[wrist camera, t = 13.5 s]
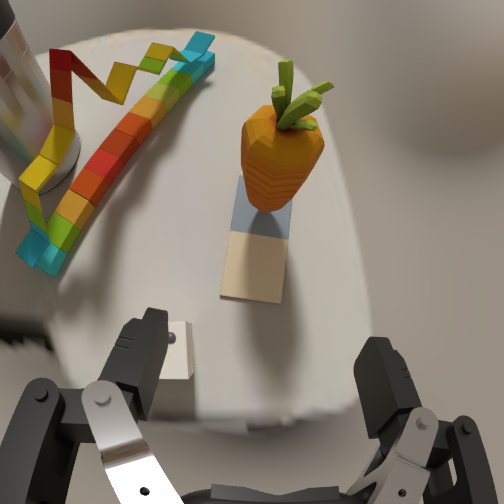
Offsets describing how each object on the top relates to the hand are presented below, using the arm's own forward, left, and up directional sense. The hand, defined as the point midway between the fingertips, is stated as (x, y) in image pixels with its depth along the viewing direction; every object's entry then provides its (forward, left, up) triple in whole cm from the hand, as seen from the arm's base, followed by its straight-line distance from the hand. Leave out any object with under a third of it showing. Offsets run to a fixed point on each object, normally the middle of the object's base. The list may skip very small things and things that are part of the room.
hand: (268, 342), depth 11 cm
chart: (-15, +17, -13) cm, 26 cm away
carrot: (0, +11, -13) cm, 17 cm away
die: (-6, -2, -13) cm, 14 cm away
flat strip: (0, +11, -13) cm, 17 cm away
